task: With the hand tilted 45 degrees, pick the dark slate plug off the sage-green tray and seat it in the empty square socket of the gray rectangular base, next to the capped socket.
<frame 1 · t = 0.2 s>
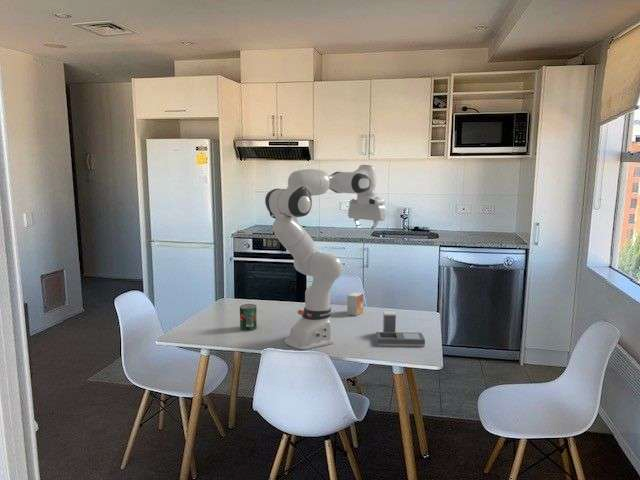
hand: (365, 229, 232), 47 cm above the table, tool pointing down, fingers open, 8 cm apart
tray: (389, 335, 223), on the table
plug: (389, 333, 223), point 1 cm above the table, touching tray
gray rectangular base: (399, 343, 213), on the table
canned tomato: (248, 328, 232), on the table
small box: (355, 314, 256), on the table
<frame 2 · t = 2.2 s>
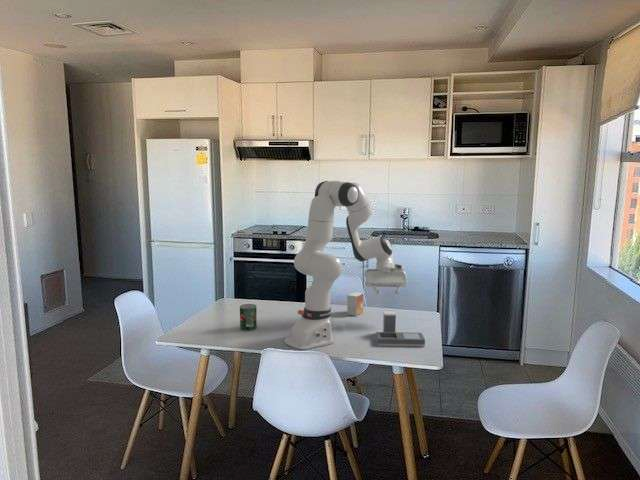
hand: (387, 293, 233), 16 cm above the table, tool tilted 45°, fingers open, 8 cm apart
nothing on the table moved.
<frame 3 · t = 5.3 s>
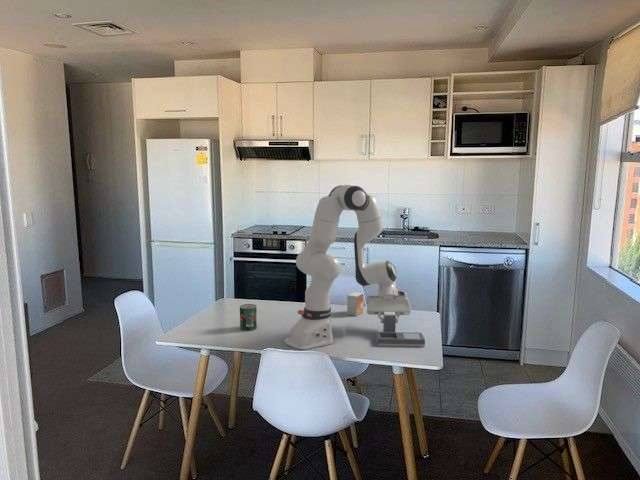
hand: (389, 322, 222), 6 cm above the table, tool tilted 45°, fingers closed on plug, 5 cm apart
plug: (389, 333, 223), point 1 cm above the table, touching gripper, tray
everything else where it was.
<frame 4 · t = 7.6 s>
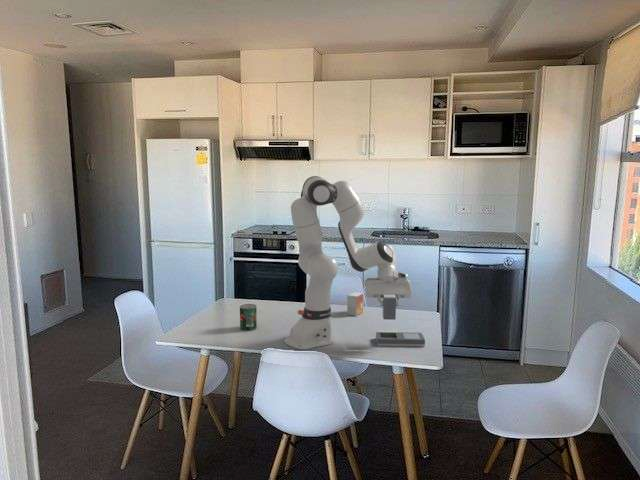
hand: (389, 305, 210), 17 cm above the table, tool tilted 45°, fingers closed on plug, 5 cm apart
plug: (389, 317, 211), point 12 cm above the table, touching gripper
everything else where it was.
when the fingers open (8 cm above the table, at t = 10.1 s): plug stays where it is, resting on gray rectangular base.
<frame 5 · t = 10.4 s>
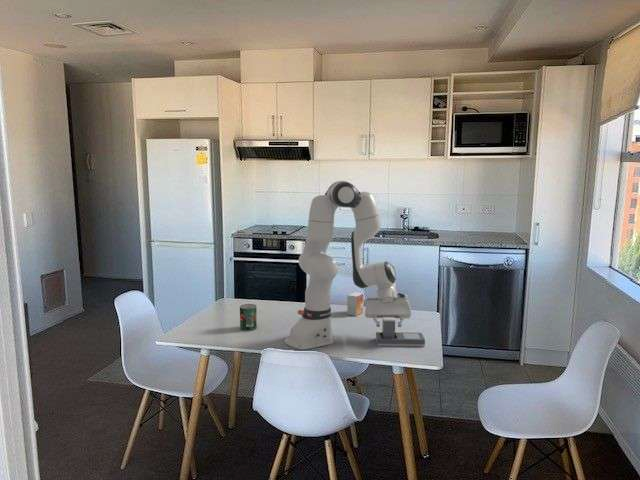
hand: (388, 326, 211), 8 cm above the table, tool tilted 45°, fingers open, 8 cm apart
plug: (388, 340, 212), point 1 cm above the table, touching gray rectangular base
everything else where it was.
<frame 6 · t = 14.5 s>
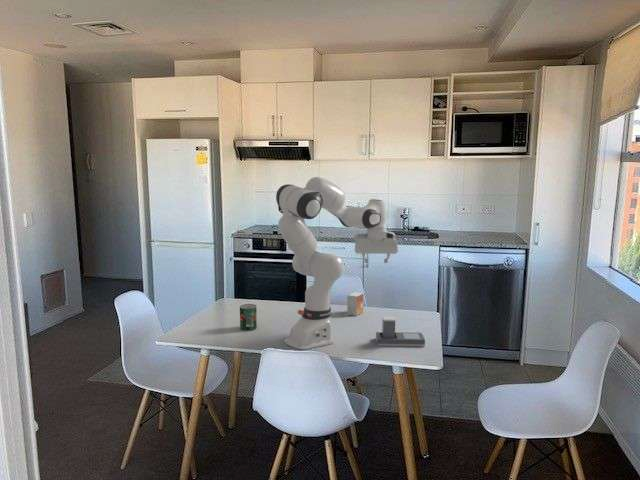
hand: (375, 262, 231), 31 cm above the table, tool pointing down, fingers open, 8 cm apart
nothing on the table moved.
at the end: plug 0.1 cm from the target spot on the gray rectangular base, point 1.5 cm above the gray rectangular base's base; plug tilted 0°; the gripper is holding nothing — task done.
